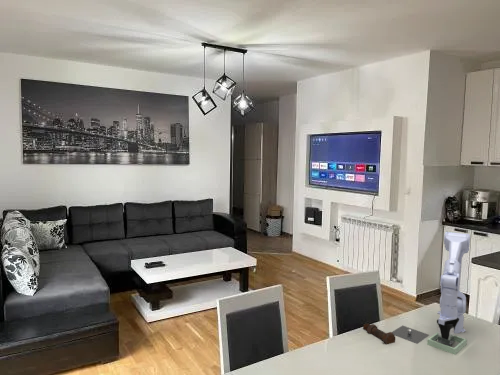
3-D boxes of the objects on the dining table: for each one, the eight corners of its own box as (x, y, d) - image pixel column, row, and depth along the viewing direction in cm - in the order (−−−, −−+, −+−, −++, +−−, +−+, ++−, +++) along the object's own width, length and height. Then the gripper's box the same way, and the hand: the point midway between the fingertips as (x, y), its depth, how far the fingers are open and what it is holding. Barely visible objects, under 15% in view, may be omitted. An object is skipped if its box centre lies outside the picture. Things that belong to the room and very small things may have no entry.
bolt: (366, 334, 163) (392, 348, 149) (358, 330, 161) (383, 344, 147) (371, 322, 164) (397, 335, 150) (364, 318, 162) (389, 331, 148)
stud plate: (402, 327, 165) (402, 320, 165) (429, 337, 156) (430, 329, 156) (389, 335, 157) (389, 328, 157) (417, 346, 148) (417, 338, 148)
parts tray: (439, 337, 156) (439, 330, 156) (466, 346, 149) (466, 339, 148) (427, 346, 148) (427, 339, 148) (454, 357, 140) (455, 349, 140)
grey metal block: (453, 342, 148) (453, 326, 148) (449, 345, 145) (449, 330, 145) (442, 338, 152) (442, 323, 151) (438, 342, 149) (438, 326, 149)
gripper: (445, 297, 155) (444, 328, 156) (431, 305, 145) (429, 338, 146) (463, 301, 150) (462, 333, 151) (449, 311, 140) (448, 345, 141)
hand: (447, 336), depth 148 cm, fingers closed on grey metal block, 4 cm apart
